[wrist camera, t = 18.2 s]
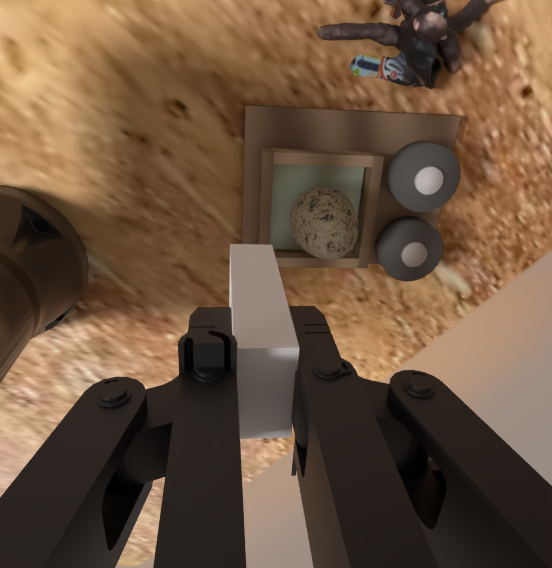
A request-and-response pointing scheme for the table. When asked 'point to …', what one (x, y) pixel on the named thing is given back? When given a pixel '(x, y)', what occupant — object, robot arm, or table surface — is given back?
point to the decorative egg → (324, 223)
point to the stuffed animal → (411, 41)
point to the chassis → (339, 182)
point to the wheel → (423, 176)
